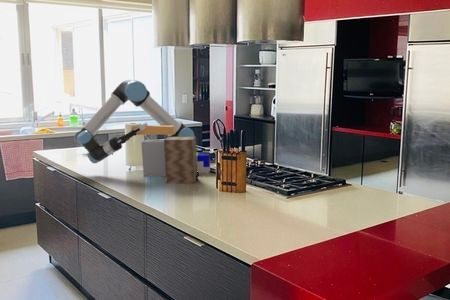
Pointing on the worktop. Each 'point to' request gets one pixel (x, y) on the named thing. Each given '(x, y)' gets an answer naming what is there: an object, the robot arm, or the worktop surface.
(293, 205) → the worktop surface
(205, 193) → the worktop surface
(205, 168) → the puzzle toy
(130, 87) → the robot arm
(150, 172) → the plinth
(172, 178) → the walnut stand
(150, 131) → the orange bar
